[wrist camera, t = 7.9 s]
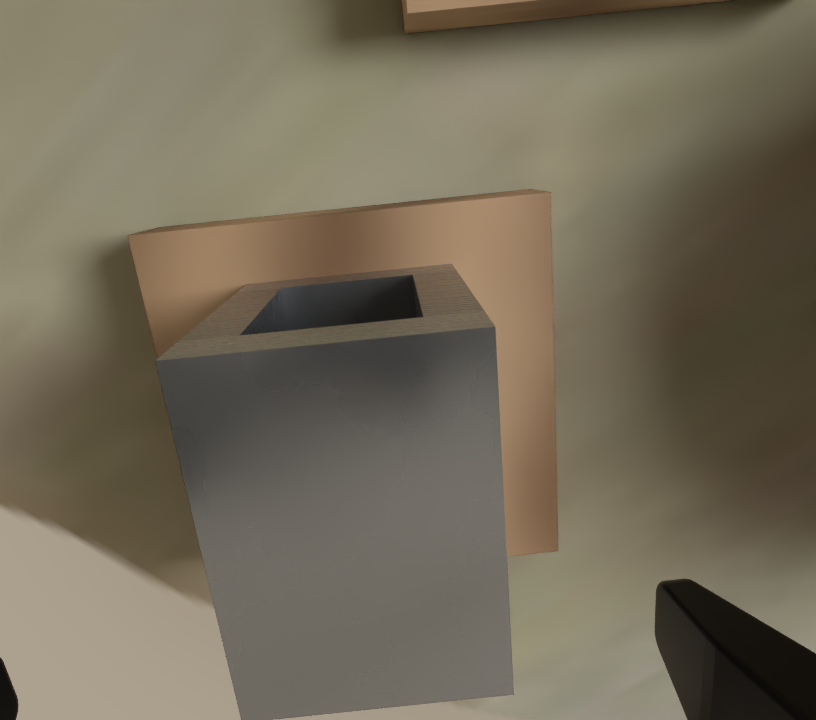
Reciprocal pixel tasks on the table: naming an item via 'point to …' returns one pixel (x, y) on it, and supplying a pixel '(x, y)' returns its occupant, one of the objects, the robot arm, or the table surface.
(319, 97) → the table surface
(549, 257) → the stand
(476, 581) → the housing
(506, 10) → the stand
